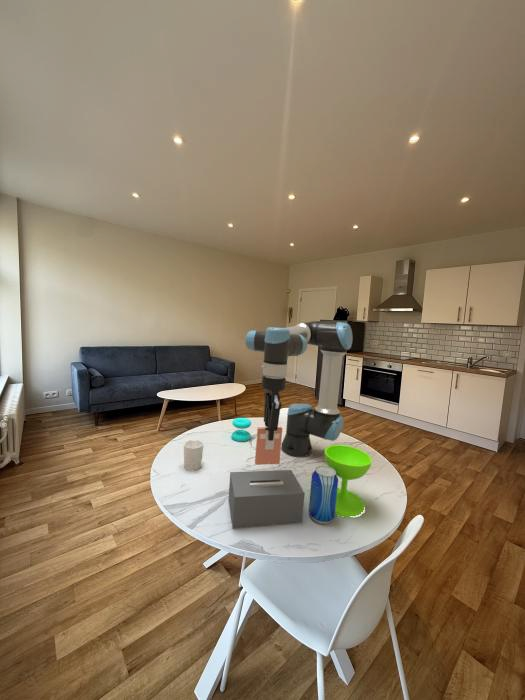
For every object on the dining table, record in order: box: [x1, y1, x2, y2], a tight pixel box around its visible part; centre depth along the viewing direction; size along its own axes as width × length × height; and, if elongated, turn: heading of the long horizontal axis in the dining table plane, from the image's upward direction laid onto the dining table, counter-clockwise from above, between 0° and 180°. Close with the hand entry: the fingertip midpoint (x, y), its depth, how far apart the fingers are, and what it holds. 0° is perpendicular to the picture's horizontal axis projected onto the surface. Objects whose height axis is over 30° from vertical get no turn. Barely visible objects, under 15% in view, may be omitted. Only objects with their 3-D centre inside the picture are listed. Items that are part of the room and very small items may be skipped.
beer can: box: [308, 465, 339, 525], centre depth 92 cm, size 8×8×16 cm
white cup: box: [183, 439, 204, 472], centre depth 118 cm, size 8×8×10 cm
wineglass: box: [324, 444, 373, 518], centre depth 101 cm, size 16×16×18 cm
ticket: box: [254, 426, 283, 466], centre depth 92 cm, size 8×1×12 cm, turn 102°
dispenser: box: [228, 469, 305, 529], centre depth 94 cm, size 22×14×11 cm, turn 102°
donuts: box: [231, 417, 252, 442], centre depth 150 cm, size 10×10×10 cm
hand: (268, 447), depth 92 cm, fingers closed on ticket
